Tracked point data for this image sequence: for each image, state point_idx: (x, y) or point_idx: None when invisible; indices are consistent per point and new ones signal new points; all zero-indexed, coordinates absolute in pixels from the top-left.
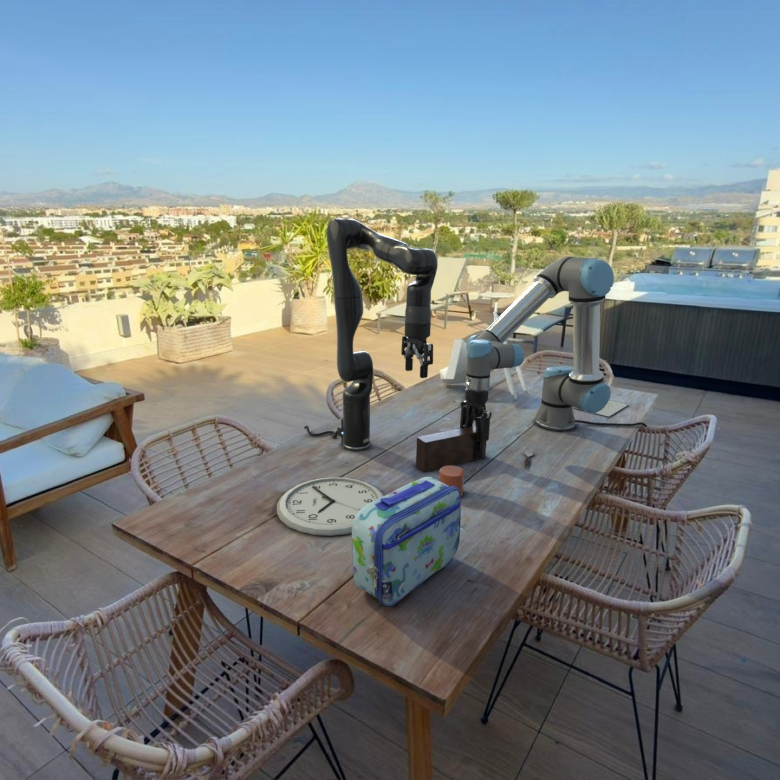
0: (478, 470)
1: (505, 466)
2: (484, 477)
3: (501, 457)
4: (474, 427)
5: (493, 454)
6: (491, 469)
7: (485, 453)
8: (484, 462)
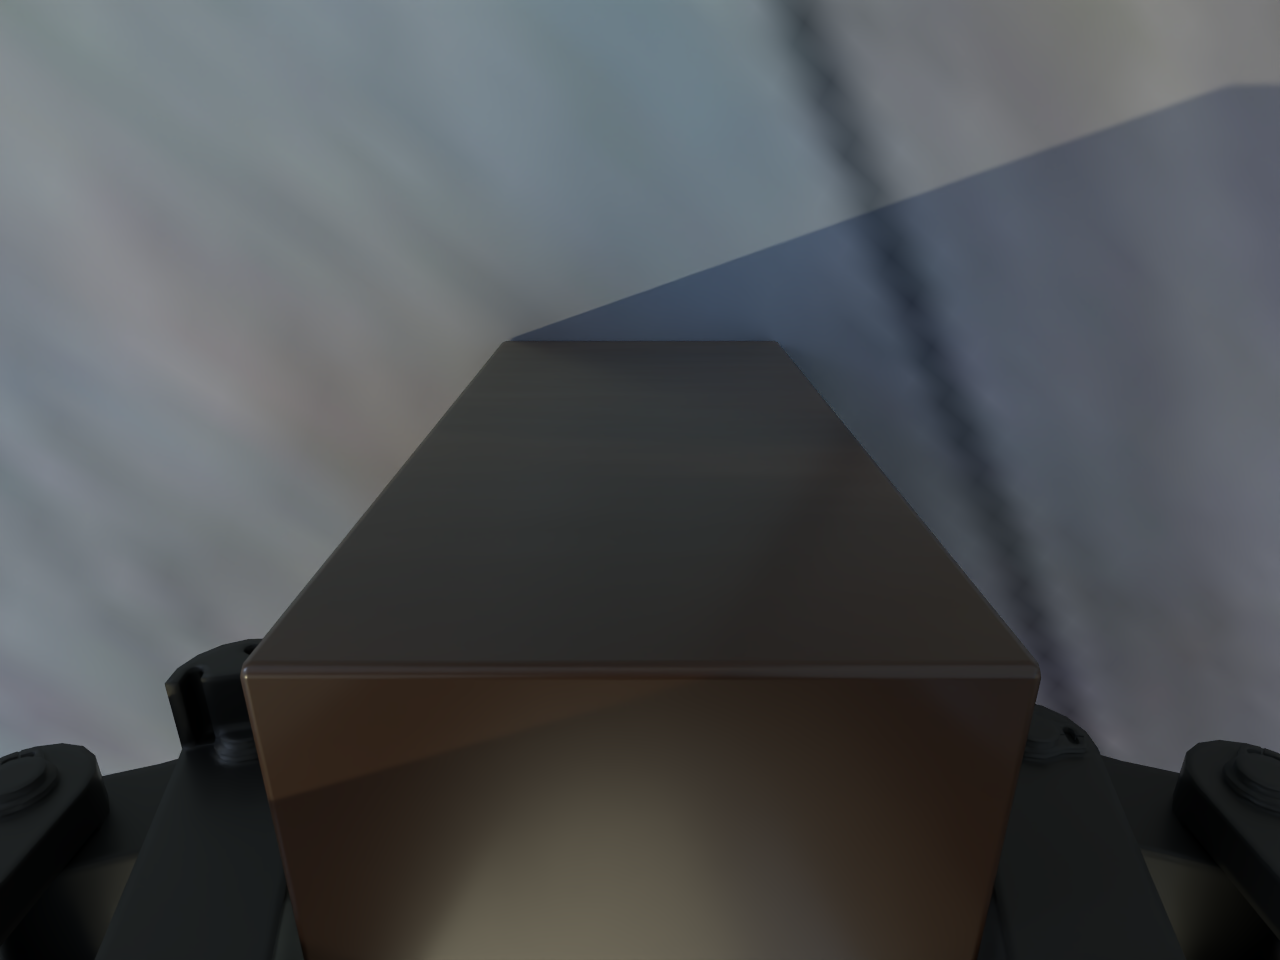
0: (1052, 695)
1: (1249, 233)
2: (1251, 744)
3: (928, 10)
4: (475, 954)
5: (728, 72)
6: (1156, 521)
7: (794, 364)
8: (905, 463)
